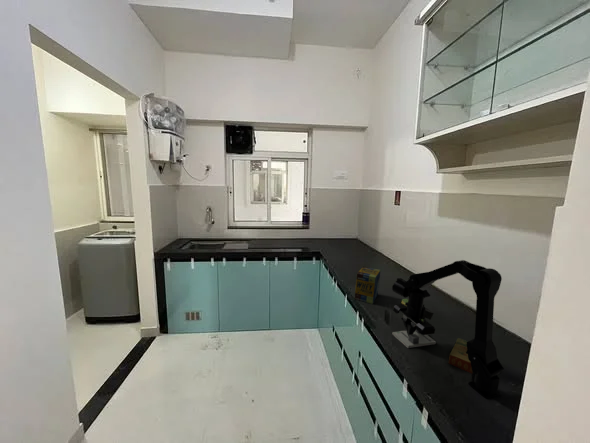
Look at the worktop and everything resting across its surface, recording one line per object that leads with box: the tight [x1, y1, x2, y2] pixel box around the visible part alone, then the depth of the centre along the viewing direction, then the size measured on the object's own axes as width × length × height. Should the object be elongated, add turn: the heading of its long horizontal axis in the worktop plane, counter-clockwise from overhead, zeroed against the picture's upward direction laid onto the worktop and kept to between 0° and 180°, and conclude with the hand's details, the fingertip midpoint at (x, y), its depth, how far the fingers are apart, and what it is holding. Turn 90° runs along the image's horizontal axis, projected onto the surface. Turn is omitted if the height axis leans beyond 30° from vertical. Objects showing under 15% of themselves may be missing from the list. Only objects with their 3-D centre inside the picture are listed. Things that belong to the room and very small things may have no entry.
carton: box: [448, 337, 472, 375], centre depth 104 cm, size 8×16×4 cm, turn 139°
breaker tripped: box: [408, 334, 419, 344], centre depth 111 cm, size 3×3×2 cm
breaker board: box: [392, 330, 437, 349], centre depth 115 cm, size 10×14×1 cm
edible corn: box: [400, 298, 424, 322], centre depth 139 cm, size 5×20×5 cm
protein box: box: [354, 266, 381, 305], centre depth 155 cm, size 10×15×16 cm
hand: (409, 336), depth 113 cm, fingers closed
